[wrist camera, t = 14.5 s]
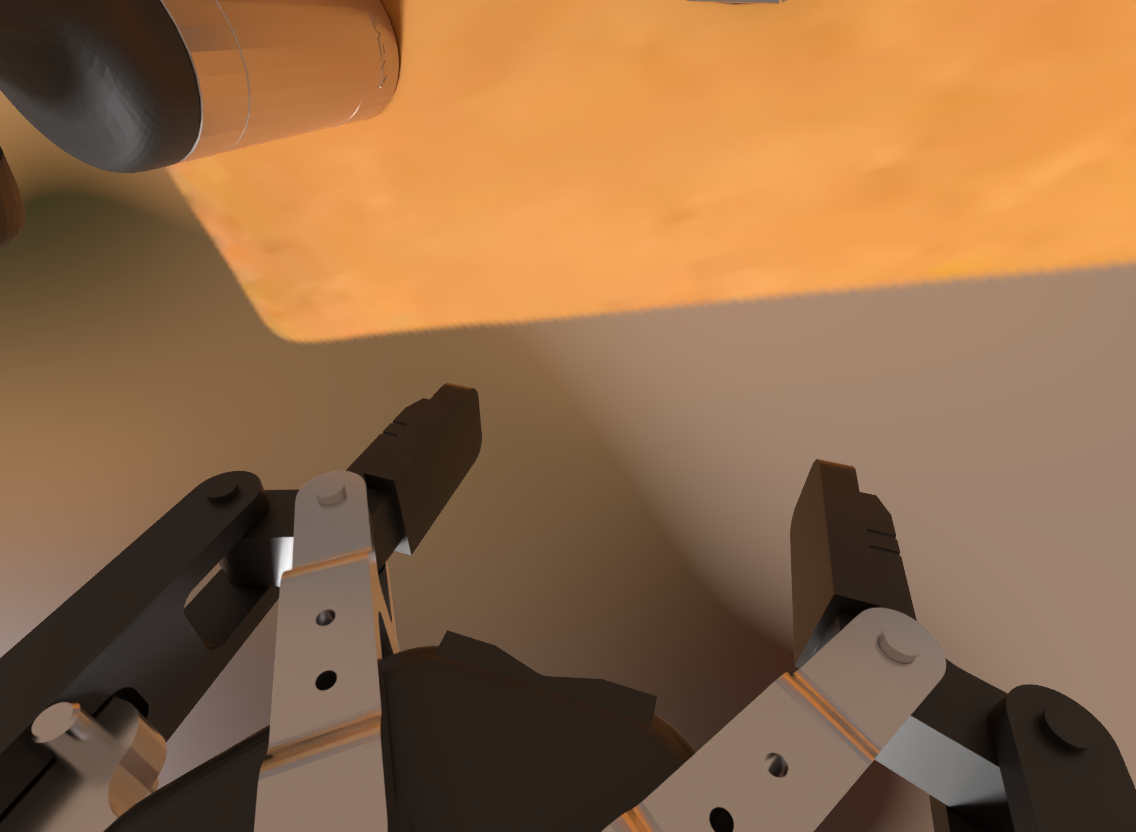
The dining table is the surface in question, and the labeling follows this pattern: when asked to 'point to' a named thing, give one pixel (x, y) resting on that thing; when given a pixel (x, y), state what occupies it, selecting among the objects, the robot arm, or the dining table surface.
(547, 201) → the dining table surface
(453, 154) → the dining table surface
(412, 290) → the dining table surface
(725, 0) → the carrier
